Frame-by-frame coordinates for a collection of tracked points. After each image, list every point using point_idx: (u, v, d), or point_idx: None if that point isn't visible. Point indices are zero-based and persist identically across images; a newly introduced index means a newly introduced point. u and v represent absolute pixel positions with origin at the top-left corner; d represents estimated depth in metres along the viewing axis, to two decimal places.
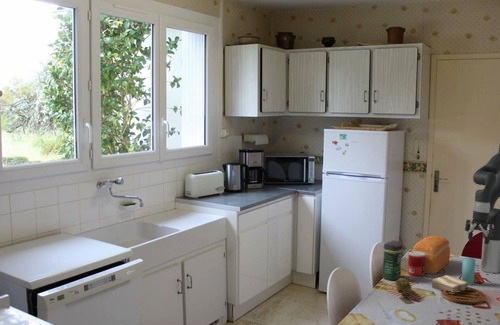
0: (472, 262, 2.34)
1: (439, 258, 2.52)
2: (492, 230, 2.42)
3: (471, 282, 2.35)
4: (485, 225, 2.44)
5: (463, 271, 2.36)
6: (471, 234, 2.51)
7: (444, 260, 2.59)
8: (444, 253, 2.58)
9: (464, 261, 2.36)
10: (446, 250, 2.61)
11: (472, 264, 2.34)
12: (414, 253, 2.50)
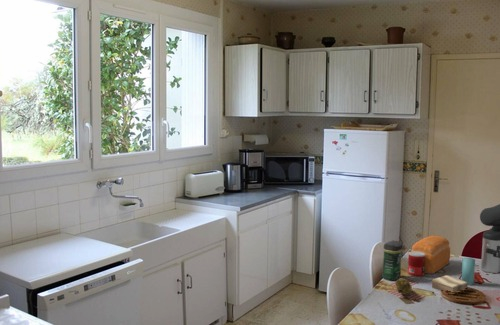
0: (472, 262, 2.34)
1: (438, 258, 2.52)
2: None
3: (471, 282, 2.35)
4: None
5: (463, 271, 2.36)
6: None
7: (443, 260, 2.59)
8: (443, 253, 2.58)
9: (464, 261, 2.36)
10: (446, 250, 2.61)
11: (472, 264, 2.34)
12: (414, 253, 2.50)
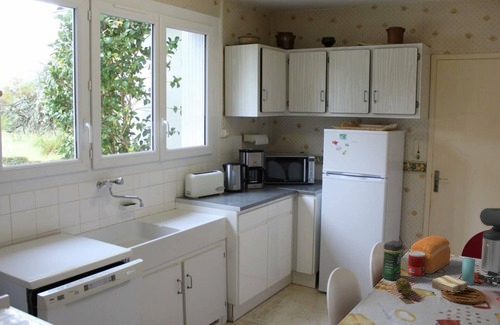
0: (472, 262, 2.34)
1: (437, 258, 2.52)
2: None
3: (471, 282, 2.35)
4: None
5: (463, 271, 2.36)
6: None
7: (443, 260, 2.59)
8: (443, 253, 2.58)
9: (464, 261, 2.36)
10: (445, 250, 2.61)
11: (472, 264, 2.34)
12: (414, 253, 2.50)
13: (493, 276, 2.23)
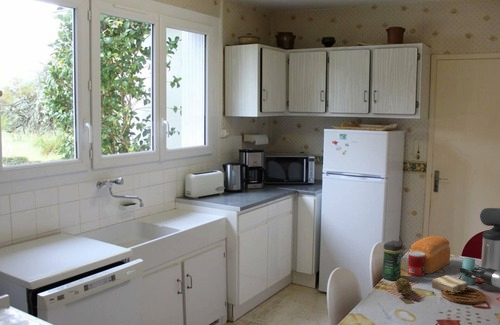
0: (472, 262, 2.34)
1: (436, 258, 2.52)
2: None
3: (471, 282, 2.35)
4: None
5: None
6: None
7: (443, 260, 2.59)
8: (443, 253, 2.58)
9: (464, 261, 2.36)
10: (445, 250, 2.61)
11: (472, 264, 2.34)
12: (414, 253, 2.50)
13: (474, 270, 2.32)
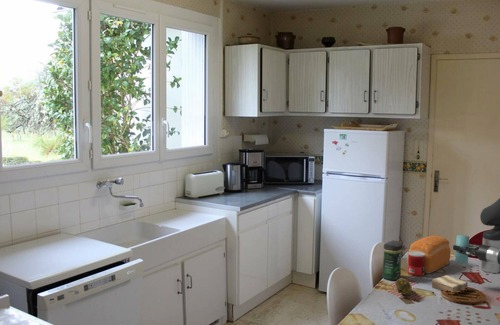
0: (466, 239, 2.28)
1: (435, 258, 2.53)
2: None
3: (465, 260, 2.29)
4: None
5: None
6: None
7: (442, 260, 2.59)
8: (442, 253, 2.58)
9: (458, 238, 2.30)
10: (445, 250, 2.61)
11: (466, 241, 2.29)
12: (414, 253, 2.50)
13: (468, 247, 2.26)
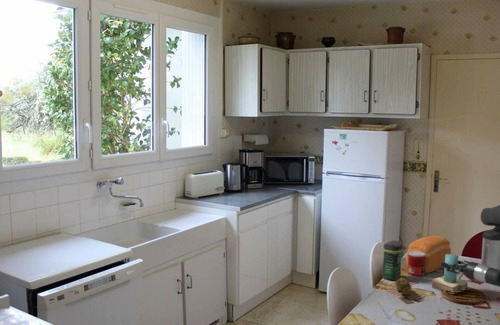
0: (455, 259, 2.25)
1: (434, 258, 2.53)
2: None
3: (453, 279, 2.26)
4: None
5: (445, 268, 2.28)
6: None
7: (442, 260, 2.59)
8: (441, 253, 2.58)
9: (446, 258, 2.27)
10: (445, 250, 2.60)
11: (455, 261, 2.26)
12: (414, 253, 2.50)
13: (456, 264, 2.22)
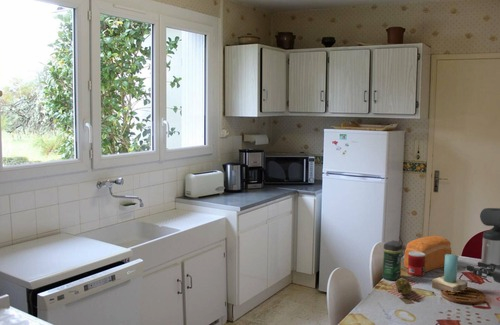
0: (454, 259, 2.25)
1: (430, 257, 2.53)
2: None
3: (453, 279, 2.26)
4: None
5: (445, 268, 2.28)
6: None
7: (440, 260, 2.59)
8: (440, 253, 2.58)
9: (446, 258, 2.27)
10: (444, 251, 2.60)
11: (454, 261, 2.26)
12: (414, 253, 2.50)
13: (483, 267, 2.12)
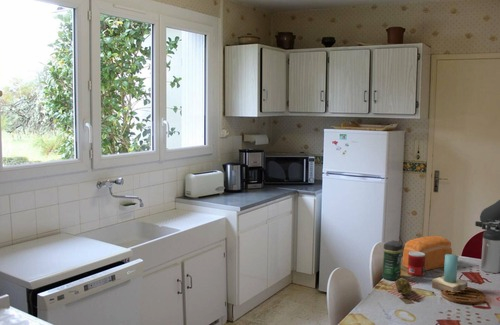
0: (454, 259, 2.25)
1: (428, 257, 2.54)
2: None
3: (453, 279, 2.26)
4: None
5: (445, 268, 2.28)
6: None
7: (439, 260, 2.59)
8: (438, 253, 2.58)
9: (446, 258, 2.27)
10: (443, 251, 2.60)
11: (454, 261, 2.26)
12: (414, 253, 2.50)
13: (491, 222, 2.19)
